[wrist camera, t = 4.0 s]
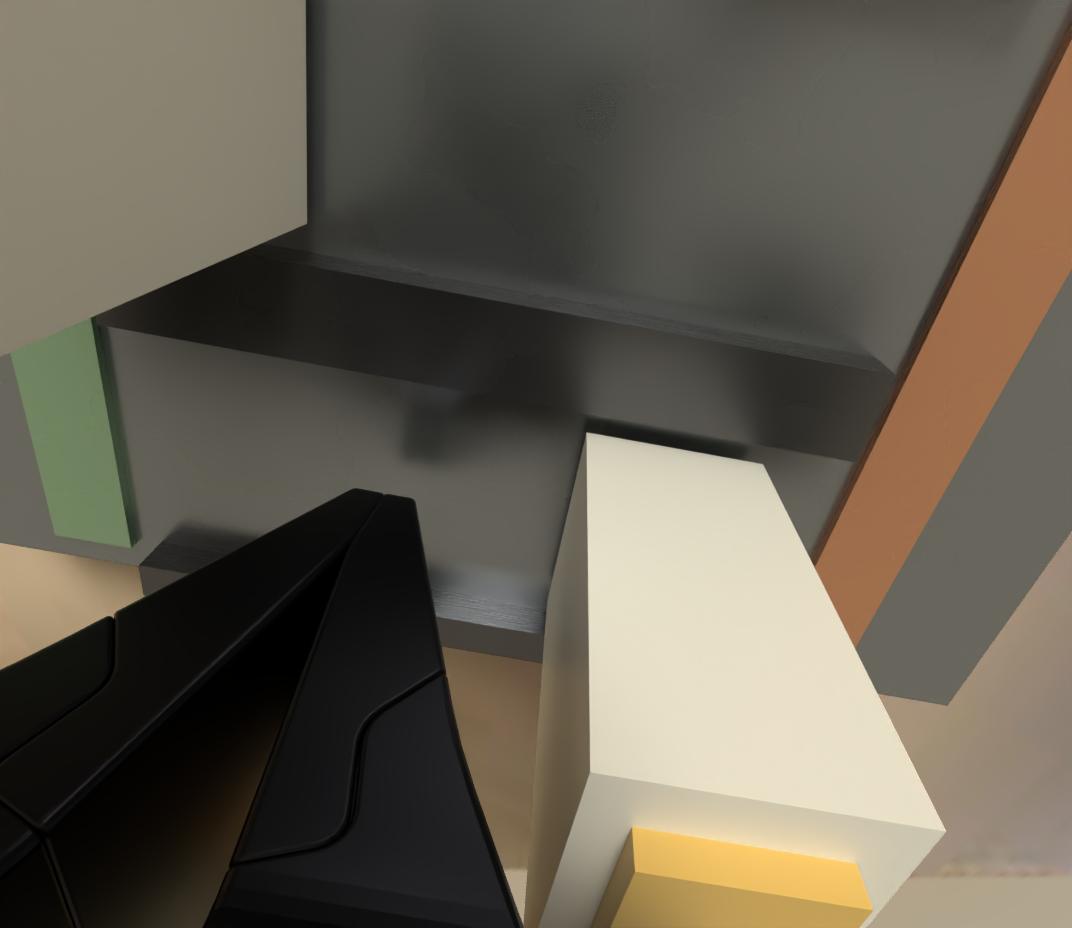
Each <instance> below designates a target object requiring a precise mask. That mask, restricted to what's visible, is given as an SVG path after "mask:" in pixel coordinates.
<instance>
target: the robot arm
mask: <svg viewBox="0 0 1072 928" xmlns="http://www.w3.org/2000/svg"><path fill="white" fill-rule="evenodd" d="M0 928H524V926H523V923H522V921H521V918H520V916H519V913H518V910H517V907H516V904H515V901H514V899H513V896H512V893H511V890H510V887H509V884H508V881H507V879H506V876H505V873H504V870H503V867H502V864H501V862H500V859H499V856H498V853H497V850H496V847H495V844H494V842H493V839H492V836H491V833H490V830H489V827H488V825H487V822H486V819H485V816H484V813H483V810H482V808H481V805H480V802H479V799H478V796H477V793H476V790H475V787H474V784H473V781H472V778H471V774H470V771H469V768H468V765H467V761H466V758H465V755H464V751H463V748H462V745H461V741H460V737H459V732H458V728H457V723H456V719H455V714H454V710H453V705H452V700H451V695H450V689H449V684H448V678H447V677H446V669H445V664H444V658H443V652H442V647H441V641H440V635H439V630H438V624H437V619H436V613H435V607H434V602H433V596H432V591H431V585H430V579H429V574H428V568H427V563H426V557H425V551H424V546H423V540H422V535H421V529H420V523H419V518H418V512H417V506H416V502H415V500H414V499H412V498H409V497H403V496H397V495H392V494H385V495H384V494H383V493H380V492H375V491H370V490H364V489H359V488H353V489H351V490H348V491H347V492H345V493H343V494H341V495H339V496H337V497H335V498H333V499H331V500H329V501H327V502H325V503H324V504H322V505H320V506H318V507H316V508H314V509H312V510H310V511H308V512H306V513H304V514H303V515H301V516H299V517H297V518H295V519H293V520H291V521H289V522H287V523H285V524H283V525H281V526H280V527H278V528H276V529H274V530H272V531H270V532H268V533H266V534H264V535H262V536H260V537H258V538H257V539H255V540H253V541H251V542H249V543H247V544H245V545H243V546H241V547H239V548H237V549H235V550H234V551H232V552H230V553H228V554H226V555H224V556H222V557H220V558H218V559H216V560H214V561H212V562H211V563H209V564H207V565H205V566H203V567H201V568H199V569H197V570H195V571H193V572H191V573H189V574H188V575H186V576H184V577H182V578H180V579H178V580H176V581H174V582H172V583H170V584H168V585H166V586H165V587H163V588H161V589H159V590H157V591H155V592H153V593H151V594H149V595H147V596H145V597H143V598H142V599H140V600H138V601H136V602H134V603H132V604H130V605H128V606H126V607H124V608H122V609H121V610H119V611H117V612H116V613H115V614H114V619H113V617H111V616H107V617H105V618H103V619H101V620H99V621H97V622H95V623H93V624H91V625H89V626H87V627H85V628H84V629H82V630H80V631H78V632H76V633H74V634H72V635H70V636H68V637H66V638H64V639H62V640H60V641H58V642H56V643H54V644H52V645H50V646H48V647H46V648H44V649H42V650H40V651H38V652H36V653H34V654H32V655H30V656H28V657H26V658H24V659H22V660H20V661H18V662H16V663H14V664H12V665H10V666H7V667H5V668H3V669H1V670H0Z"/></svg>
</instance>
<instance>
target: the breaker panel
mask: <svg viewBox="0 0 1072 928" xmlns="http://www.w3.org/2000/svg"><path fill="white" fill-rule="evenodd" d="M306 127H307V224H305V225H303V226H300V227H298V228H296V229H294V230H291V231H289V232H287V233H284V234H282V235H280V236H277V237H275V238H273V239H270V240H268V241H266V242H264V243H261V244H259V245H257V246H254V247H252V248H250V249H247V250H245V251H243V252H241V253H238V254H236V255H234V256H231V257H229V258H227V259H224V260H222V261H220V262H218V263H215V264H213V265H211V266H208V267H206V268H204V269H201V270H199V271H197V272H195V273H192V274H190V275H188V276H185V277H183V278H181V279H178V280H176V281H174V282H171V283H169V284H167V285H165V286H162V287H160V288H158V289H155V290H153V291H151V292H148V293H146V294H144V295H142V296H139V297H137V298H135V299H132V300H130V301H128V302H125V303H123V304H121V305H119V306H116V307H114V308H112V309H109V310H107V311H105V312H102V313H100V314H98V315H95V316H93V317H91V318H89V319H86V320H84V321H82V322H79V323H77V324H75V325H72V326H70V327H68V328H66V329H63V330H61V331H59V332H56V333H54V334H52V335H49V336H47V337H45V338H43V339H40V340H38V341H36V342H33V343H31V344H29V345H26V346H24V347H22V348H20V349H17V350H15V351H13V352H10V353H8V354H6V355H3V356H1V357H0V543H5V544H11V545H16V546H22V547H28V548H34V549H40V550H45V551H51V552H57V553H63V554H69V555H75V556H80V557H86V558H92V559H98V560H104V561H109V562H115V563H121V564H127V565H133V566H138V567H139V571H140V577H141V582H142V588H143V594H144V595H145V596H147V595H149V594H151V593H153V592H155V591H157V590H159V589H161V588H163V587H165V586H166V585H168V584H170V583H172V582H174V581H176V580H178V579H180V578H182V577H184V576H186V575H188V574H189V573H191V572H193V571H195V570H197V569H199V568H201V567H203V566H205V565H207V564H209V563H211V562H212V561H214V560H216V559H218V558H220V557H222V556H224V555H226V554H228V553H230V552H232V551H234V550H235V549H237V548H239V547H241V546H243V545H245V544H247V543H249V542H251V541H253V540H255V539H257V538H258V537H260V536H262V535H264V534H266V533H268V532H270V531H272V530H274V529H276V528H278V527H280V526H281V525H283V524H285V523H287V522H289V521H291V520H293V519H295V518H297V517H299V516H301V515H303V514H304V513H306V512H308V511H310V510H312V509H314V508H316V507H318V506H320V505H322V504H324V503H325V502H327V501H329V500H331V499H333V498H335V497H337V496H339V495H341V494H343V493H345V492H347V491H348V490H351V489H353V488H359V489H364V490H370V491H375V492H380V493H383V494H384V495H385V494H392V495H397V496H403V497H409V498H412V499H414V500H415V502H416V506H417V512H418V518H419V523H420V529H421V535H422V540H423V546H424V551H425V557H426V563H427V568H428V574H429V579H430V585H431V591H432V596H433V602H434V607H435V613H436V619H437V624H438V630H439V635H440V641H441V646H443V647H449V648H455V649H461V650H467V651H473V652H479V653H484V654H490V655H496V656H502V657H508V658H514V659H520V660H525V661H531V662H537V663H543V650H544V636H545V623H546V609H547V600H548V596H549V591H550V587H551V583H552V578H553V574H554V570H555V566H556V561H557V557H558V553H559V548H560V544H561V540H562V535H563V531H564V527H565V523H566V518H567V514H568V510H569V505H570V501H571V497H572V493H573V488H574V484H575V480H576V475H577V471H578V467H579V462H580V458H581V454H582V450H583V445H584V441H585V437H586V432H588V433H593V434H599V435H604V436H610V437H615V438H621V439H626V440H632V441H638V442H643V443H649V444H654V445H660V446H665V447H671V448H676V449H682V450H687V451H693V452H698V453H704V454H709V455H715V456H721V457H726V458H732V459H737V460H743V461H748V462H754V463H759V464H763V465H764V467H765V469H766V471H767V473H768V475H769V477H770V479H771V481H772V483H773V485H774V487H775V489H776V491H777V493H778V495H779V497H780V500H781V502H782V504H783V506H784V508H785V510H786V512H787V514H788V516H789V518H790V520H791V522H792V524H793V526H794V528H795V530H796V532H797V534H798V536H799V538H800V540H801V542H802V544H803V546H804V548H805V550H806V552H807V554H808V556H809V558H810V560H811V562H812V564H813V566H814V568H815V570H816V572H817V574H818V576H819V578H820V580H821V582H822V584H823V586H824V588H825V590H826V592H827V594H828V596H829V598H830V600H831V602H832V604H833V606H834V608H835V610H836V612H837V614H838V616H839V618H840V620H841V622H842V624H843V626H844V628H845V630H846V632H847V634H848V636H849V638H850V640H851V642H852V644H853V646H854V648H855V650H856V652H857V654H858V656H859V658H860V660H861V662H862V664H863V666H864V668H865V670H866V672H867V674H868V676H869V678H870V680H871V682H872V684H873V686H874V688H875V690H876V692H877V694H883V695H889V696H895V697H900V698H906V699H912V700H918V701H924V702H930V703H935V704H941V705H947V706H948V704H949V703H950V701H951V700H952V699H953V697H954V696H955V694H956V693H957V691H958V690H959V689H960V687H961V686H962V684H963V683H964V682H965V680H966V679H967V677H968V676H969V675H970V673H971V672H972V670H973V669H974V668H975V666H976V665H977V663H978V662H979V661H980V659H981V658H982V656H983V655H984V653H985V652H986V651H987V649H988V648H989V646H990V645H991V644H992V642H993V641H994V639H995V638H996V637H997V635H998V634H999V632H1000V631H1001V630H1002V628H1003V627H1004V625H1005V624H1006V623H1007V621H1008V620H1009V618H1010V617H1011V616H1012V614H1013V613H1014V611H1015V610H1016V608H1017V607H1018V606H1019V604H1020V603H1021V601H1022V600H1023V599H1024V597H1025V596H1026V594H1027V593H1028V592H1029V590H1030V589H1031V587H1032V586H1033V585H1034V583H1035V582H1036V580H1037V579H1038V578H1039V576H1040V575H1041V573H1042V572H1043V570H1044V569H1045V568H1046V566H1047V565H1048V563H1049V562H1050V561H1051V559H1052V558H1053V556H1054V555H1055V554H1056V552H1057V551H1058V549H1059V548H1060V547H1061V545H1062V544H1063V542H1064V541H1065V540H1066V538H1067V537H1068V535H1069V534H1070V533H1071V531H1072V0H306Z"/></svg>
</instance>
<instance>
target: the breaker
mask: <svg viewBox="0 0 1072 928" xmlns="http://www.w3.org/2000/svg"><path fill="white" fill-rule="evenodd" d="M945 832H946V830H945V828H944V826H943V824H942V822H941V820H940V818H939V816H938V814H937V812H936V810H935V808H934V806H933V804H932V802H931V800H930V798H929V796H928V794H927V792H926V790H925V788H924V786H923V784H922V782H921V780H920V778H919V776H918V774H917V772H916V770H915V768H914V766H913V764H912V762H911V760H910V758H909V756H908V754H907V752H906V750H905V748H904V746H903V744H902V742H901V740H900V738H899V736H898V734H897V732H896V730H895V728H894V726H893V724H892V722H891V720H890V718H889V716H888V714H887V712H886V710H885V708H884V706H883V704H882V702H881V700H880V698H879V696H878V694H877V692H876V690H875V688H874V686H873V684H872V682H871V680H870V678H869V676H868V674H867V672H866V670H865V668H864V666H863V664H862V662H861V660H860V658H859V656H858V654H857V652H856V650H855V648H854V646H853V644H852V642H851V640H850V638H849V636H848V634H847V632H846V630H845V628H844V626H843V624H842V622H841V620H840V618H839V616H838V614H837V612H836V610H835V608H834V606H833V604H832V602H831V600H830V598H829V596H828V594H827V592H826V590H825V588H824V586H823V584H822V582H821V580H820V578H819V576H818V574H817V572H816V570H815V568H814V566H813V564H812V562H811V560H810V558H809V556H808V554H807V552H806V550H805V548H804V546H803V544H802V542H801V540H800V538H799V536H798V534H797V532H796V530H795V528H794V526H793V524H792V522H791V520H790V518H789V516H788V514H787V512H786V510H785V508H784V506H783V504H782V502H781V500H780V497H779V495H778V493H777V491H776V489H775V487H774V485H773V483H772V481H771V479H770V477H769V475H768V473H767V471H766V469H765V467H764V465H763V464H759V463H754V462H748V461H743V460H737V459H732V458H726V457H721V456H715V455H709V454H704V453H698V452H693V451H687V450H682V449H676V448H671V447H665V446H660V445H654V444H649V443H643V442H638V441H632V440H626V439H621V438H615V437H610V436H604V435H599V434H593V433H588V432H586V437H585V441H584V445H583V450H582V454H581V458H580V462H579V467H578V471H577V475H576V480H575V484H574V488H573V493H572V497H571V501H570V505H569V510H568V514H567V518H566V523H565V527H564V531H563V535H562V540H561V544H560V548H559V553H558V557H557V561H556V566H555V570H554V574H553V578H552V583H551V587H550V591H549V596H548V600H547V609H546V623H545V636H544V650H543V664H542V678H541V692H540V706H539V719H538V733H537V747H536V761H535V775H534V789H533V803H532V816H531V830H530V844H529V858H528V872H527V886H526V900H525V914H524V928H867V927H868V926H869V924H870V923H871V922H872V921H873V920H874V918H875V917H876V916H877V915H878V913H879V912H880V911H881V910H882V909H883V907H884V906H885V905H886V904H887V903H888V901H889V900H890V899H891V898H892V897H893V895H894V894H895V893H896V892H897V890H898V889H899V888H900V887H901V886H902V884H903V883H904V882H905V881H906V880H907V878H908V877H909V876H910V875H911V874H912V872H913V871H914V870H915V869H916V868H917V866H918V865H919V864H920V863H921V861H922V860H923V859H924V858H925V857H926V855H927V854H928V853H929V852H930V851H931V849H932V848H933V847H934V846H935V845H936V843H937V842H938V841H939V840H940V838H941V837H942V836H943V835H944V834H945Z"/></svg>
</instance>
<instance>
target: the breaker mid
mask: <svg viewBox="0 0 1072 928" xmlns="http://www.w3.org/2000/svg"><path fill="white" fill-rule="evenodd" d="M305 224H307V127H306V0H0V357H1V356H3V355H6V354H8V353H10V352H13V351H15V350H17V349H20V348H22V347H24V346H26V345H29V344H31V343H33V342H36V341H38V340H40V339H43V338H45V337H47V336H49V335H52V334H54V333H56V332H59V331H61V330H63V329H66V328H68V327H70V326H72V325H75V324H77V323H79V322H82V321H84V320H86V319H89V318H91V317H93V316H95V315H98V314H100V313H102V312H105V311H107V310H109V309H112V308H114V307H116V306H119V305H121V304H123V303H125V302H128V301H130V300H132V299H135V298H137V297H139V296H142V295H144V294H146V293H148V292H151V291H153V290H155V289H158V288H160V287H162V286H165V285H167V284H169V283H171V282H174V281H176V280H178V279H181V278H183V277H185V276H188V275H190V274H192V273H195V272H197V271H199V270H201V269H204V268H206V267H208V266H211V265H213V264H215V263H218V262H220V261H222V260H224V259H227V258H229V257H231V256H234V255H236V254H238V253H241V252H243V251H245V250H247V249H250V248H252V247H254V246H257V245H259V244H261V243H264V242H266V241H268V240H270V239H273V238H275V237H277V236H280V235H282V234H284V233H287V232H289V231H291V230H294V229H296V228H298V227H300V226H303V225H305Z"/></svg>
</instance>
